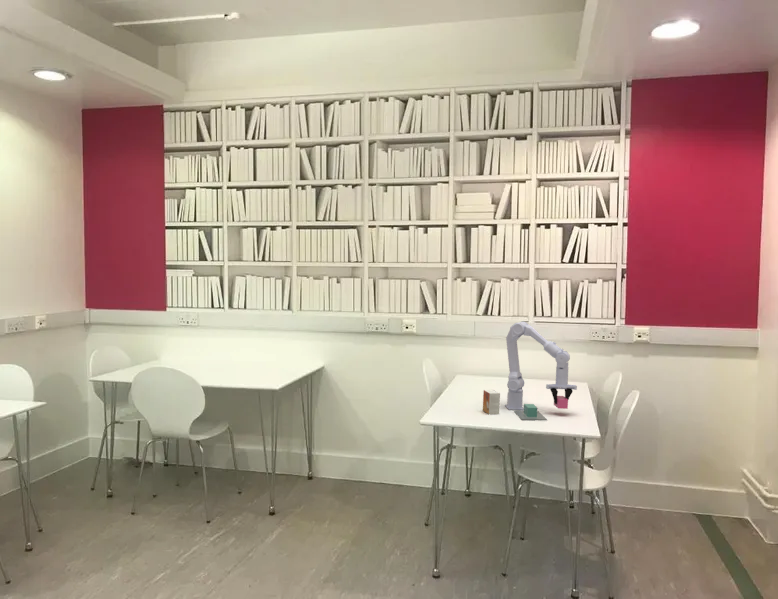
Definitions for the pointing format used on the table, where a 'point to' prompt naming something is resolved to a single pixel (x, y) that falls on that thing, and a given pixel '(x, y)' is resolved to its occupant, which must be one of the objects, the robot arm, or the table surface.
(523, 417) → the baseplate
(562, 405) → the raspberry brick
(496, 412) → the small box
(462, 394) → the table surface
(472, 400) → the table surface
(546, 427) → the table surface
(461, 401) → the table surface
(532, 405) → the teal brick
